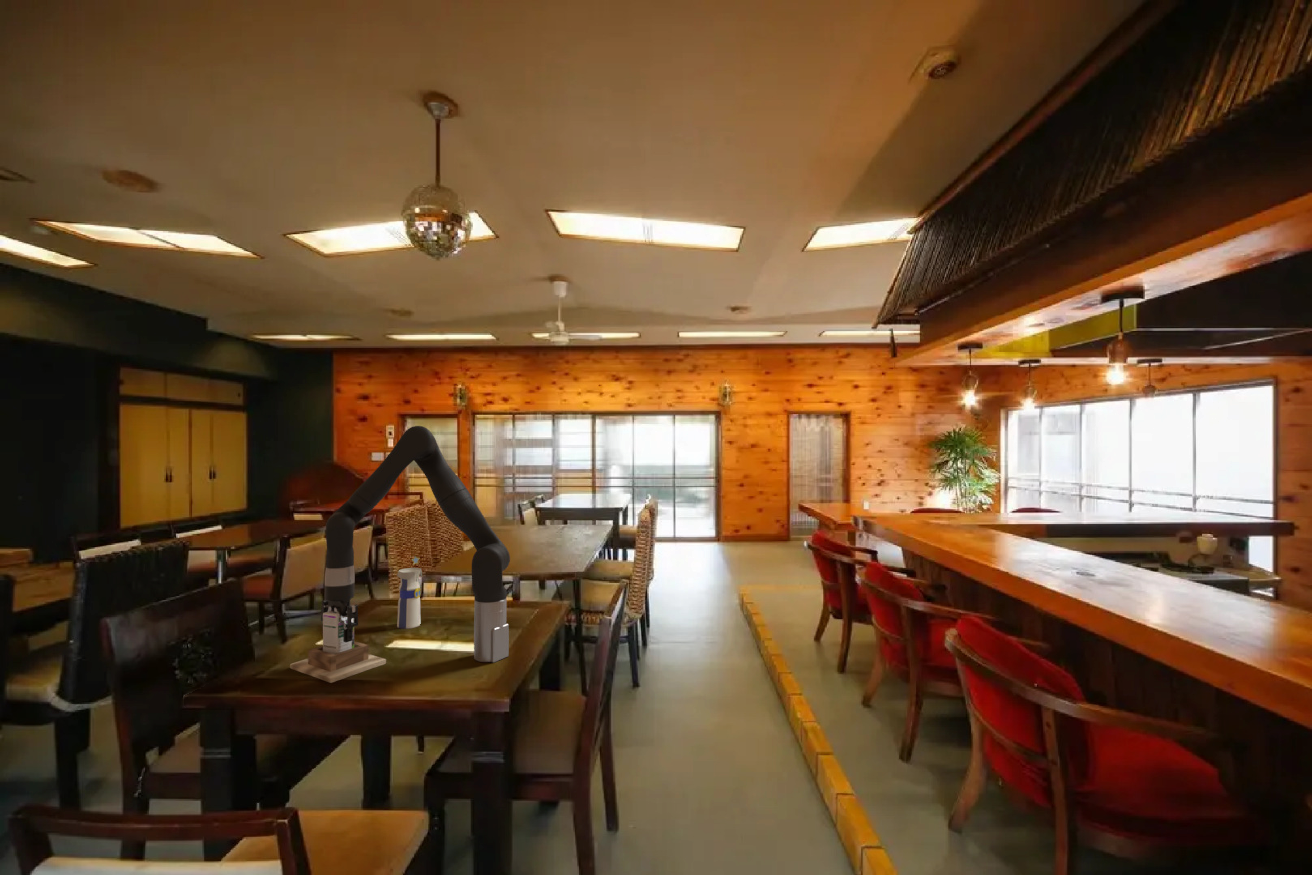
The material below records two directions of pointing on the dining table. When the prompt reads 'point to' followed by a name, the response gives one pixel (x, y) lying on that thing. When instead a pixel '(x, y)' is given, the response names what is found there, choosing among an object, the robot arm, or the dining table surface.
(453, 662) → the dining table surface
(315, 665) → the collar board
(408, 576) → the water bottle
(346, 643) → the syrup box
